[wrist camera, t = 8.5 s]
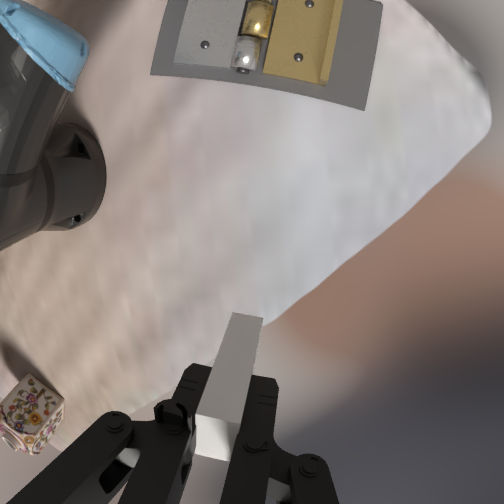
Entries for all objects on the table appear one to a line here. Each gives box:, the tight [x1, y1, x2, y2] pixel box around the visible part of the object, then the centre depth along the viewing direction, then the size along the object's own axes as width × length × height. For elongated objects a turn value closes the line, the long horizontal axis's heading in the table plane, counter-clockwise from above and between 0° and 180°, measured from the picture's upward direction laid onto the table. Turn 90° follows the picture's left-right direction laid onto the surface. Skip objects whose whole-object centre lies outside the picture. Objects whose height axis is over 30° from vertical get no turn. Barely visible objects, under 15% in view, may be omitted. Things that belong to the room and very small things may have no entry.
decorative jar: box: [0, 373, 64, 455], centre depth 53 cm, size 12×12×18 cm
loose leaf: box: [241, 0, 343, 86], centre depth 27 cm, size 10×12×4 cm
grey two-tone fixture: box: [150, 0, 383, 111], centre depth 29 cm, size 25×14×1 cm, turn 79°
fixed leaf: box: [173, 0, 272, 74], centre depth 28 cm, size 10×13×3 cm
